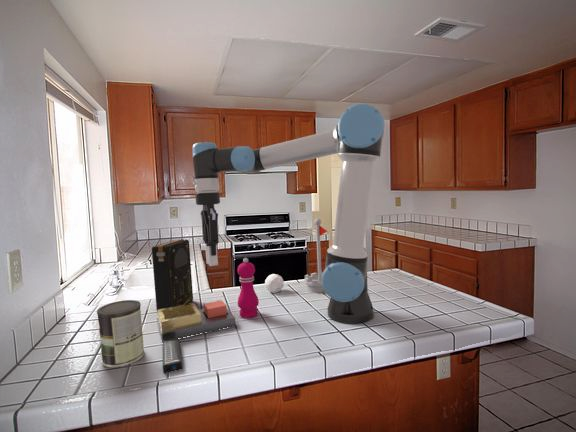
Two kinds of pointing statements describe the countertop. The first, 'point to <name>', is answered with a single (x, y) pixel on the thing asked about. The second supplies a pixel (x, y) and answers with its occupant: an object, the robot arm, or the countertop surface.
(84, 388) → the countertop surface
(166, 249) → the voltmeter
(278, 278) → the ball
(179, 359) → the multiport hub
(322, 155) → the robot arm
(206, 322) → the grey board with box
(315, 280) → the flag stand
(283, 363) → the countertop surface
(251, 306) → the pepper mill
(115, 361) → the coffee can
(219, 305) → the button
